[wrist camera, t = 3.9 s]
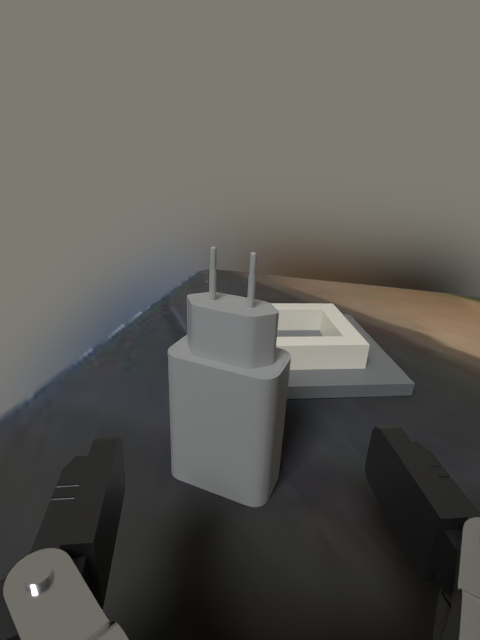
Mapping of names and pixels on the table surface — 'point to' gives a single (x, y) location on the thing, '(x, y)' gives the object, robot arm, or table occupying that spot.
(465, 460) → the table surface
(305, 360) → the docking plate
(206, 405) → the power adapter
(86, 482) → the robot arm
